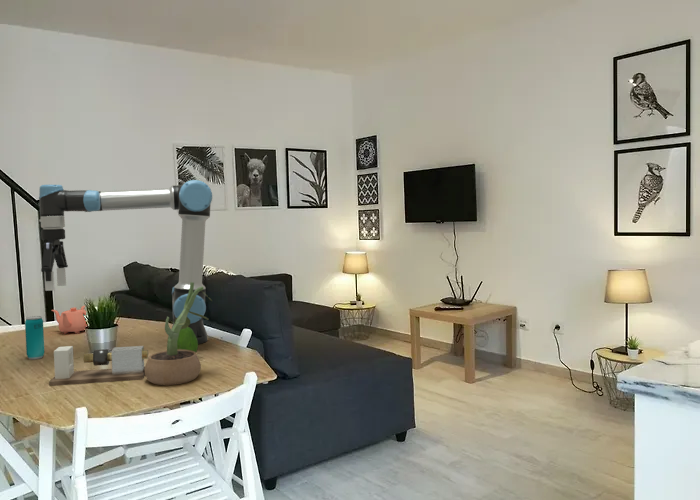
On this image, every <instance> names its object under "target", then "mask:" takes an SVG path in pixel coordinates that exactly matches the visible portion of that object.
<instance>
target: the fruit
mask: <svg viewBox="0 0 700 500" xmlns="http://www.w3.org/2000/svg"><path fill="white" fill-rule="evenodd" d="M198 348H199V344H198V341H197V338H196V336H195V334H194V332H193V330H192V329H191V328H190V327H187V328H184V329H180V332H179V336H178V340H177V350H180V349H181V350H191V351H194V352H196V353H197V351H198Z"/></svg>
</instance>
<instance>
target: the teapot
mask: <svg viewBox="0 0 700 500" xmlns="http://www.w3.org/2000/svg"><path fill="white" fill-rule="evenodd" d="M85 307H86V305H82V306H81V308H80V309H78V308H77V307H70V309H69V310H65V311H62V312H61V314H60V313H59V311H58V310H56V309H51V312H53V313H54V315H55V320H56V322H57V323H58V330H59V332H62V335H65V334H69V333H72V332H74V334H81V332H85V331H84V329H85V327H86V326H87V324H86V321H85V318H84V316H83V314H84V315H86V312H87V310H86V309H85ZM85 330H86V329H85Z"/></svg>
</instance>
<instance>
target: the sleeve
mask: <svg viewBox="0 0 700 500" xmlns="http://www.w3.org/2000/svg"><path fill="white" fill-rule="evenodd" d="M144 347H145V346H144V345H136V346H135V345H134V346H118V347H116V346H115V347H113V348H112V350H111V351H110V352H112V361H111V369H112V375H119V374H133V373H143V371H144V367H145V359H142V350H145V348H144Z"/></svg>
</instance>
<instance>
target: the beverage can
mask: <svg viewBox="0 0 700 500" xmlns="http://www.w3.org/2000/svg"><path fill="white" fill-rule="evenodd" d="M24 329H25V349H26V350H25V352H26V354H25V355H26V356H27V358H28V359H29V360H40V359H43V357H44V355H45V335H44V319H43V316H42V315H34V316H33V315H32V316H27V317H26V318H25V321H24Z"/></svg>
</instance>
